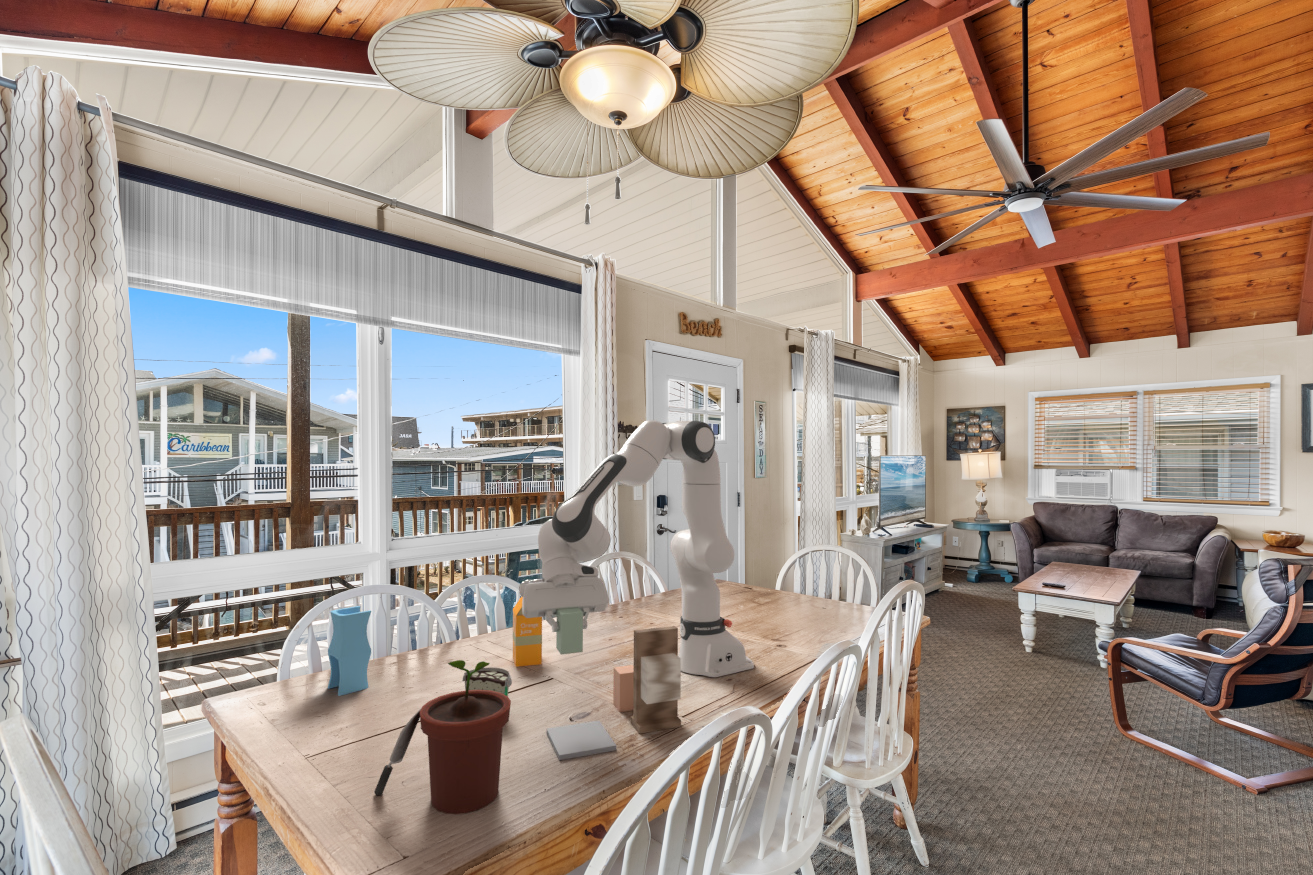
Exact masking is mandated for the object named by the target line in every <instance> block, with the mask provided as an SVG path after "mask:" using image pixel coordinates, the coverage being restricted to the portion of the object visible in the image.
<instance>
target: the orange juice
mask: <svg viewBox="0 0 1313 875" xmlns="http://www.w3.org/2000/svg"><path fill="white" fill-rule="evenodd" d="M520 596H521V595H520ZM522 600H523V597H522V596H521V597H520V598H519V599H518V601H517V602H516V604H515V606H514V607H513V608H512V660H513V663H514V667H515V668H517V667H518V668H519V667H527V666H529V667H530V666H536V665H537V666H538V665H539V666H540V665H542V664H543V661H542V659H543V656H542V655H543V617H534V618H526V617H525V616H524V615H523V613H522Z"/></svg>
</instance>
